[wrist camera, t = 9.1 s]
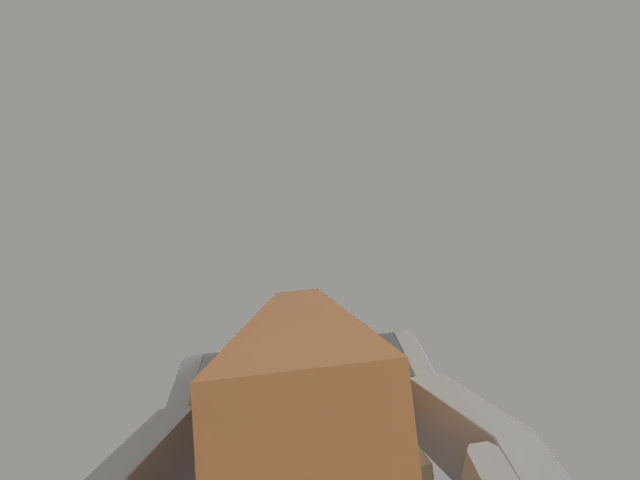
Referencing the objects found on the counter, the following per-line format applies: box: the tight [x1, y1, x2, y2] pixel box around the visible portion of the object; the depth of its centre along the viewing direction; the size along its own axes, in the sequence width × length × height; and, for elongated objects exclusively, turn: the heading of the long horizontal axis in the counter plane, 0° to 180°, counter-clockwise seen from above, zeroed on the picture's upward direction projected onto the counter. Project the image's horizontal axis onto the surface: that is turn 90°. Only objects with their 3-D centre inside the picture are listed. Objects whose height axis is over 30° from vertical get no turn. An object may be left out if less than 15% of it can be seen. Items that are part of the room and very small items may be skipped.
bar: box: [190, 289, 422, 480], centre depth 14 cm, size 3×20×3 cm, turn 4°
